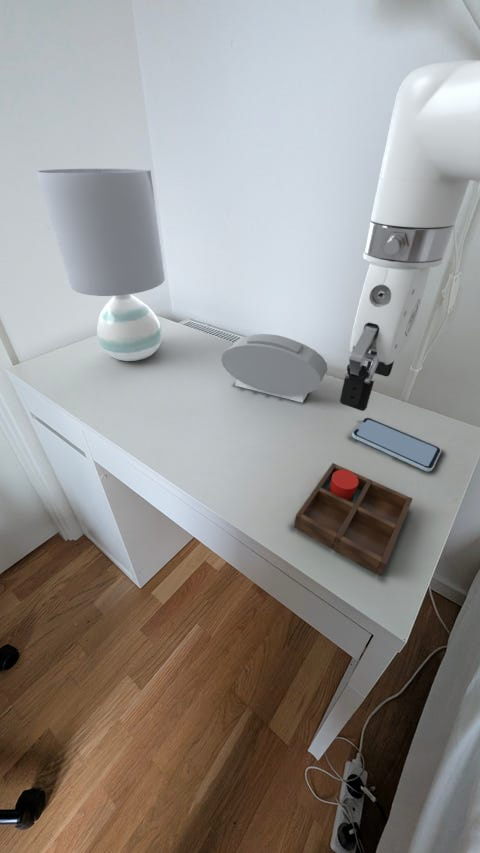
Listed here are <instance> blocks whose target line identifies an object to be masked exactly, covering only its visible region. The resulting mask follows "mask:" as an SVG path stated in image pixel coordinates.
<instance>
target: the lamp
mask: <svg viewBox="0 0 480 853" xmlns="http://www.w3.org/2000/svg"><path fill="white" fill-rule="evenodd" d="M36 176H37V179H38V182H39V186H40V189H41V193H42V195H43V198H44V202H45V205H46V209H47V212H48V216H49V218H50V222H51V226H52V229H53V232H54V235H55V238H56V241H57V245H58V248H59V252H60V254H61V258H62V262H63V264H64V268H65V272H66V275H67V279H68V281H69V284H70V287H71V289H72V290H73V291H75V292H76V293H79V294H82V295H87V296H96V297H111V299H110V300H109V301H108V302H107V303H106V304H105V306H104V307H103V309H102V310H101V312H100V314H99V317H98V319H97V324H96V325H97V326H96V335H97V339H98V343H99V345H100V346H101V348H102V350H103V351H104V352H105V353H106V354H107V355H108V356H110V357H112V358H114V359H116V360H119V361H124V362H136V361H141V360H144V359H147V358H149V357H151V356H152V355H154V353H156V352H157V351H158V349H159V348H160V346H161V344H162V338H163V332H162V326H161V323H160V321H159V319H158V317H157V316H156V314H155V312H153V310H152V309H151V308H150V307H149V305H147V304H145V302H143V301H142V300H140V299H139V298H137V297H136V296H134V294H139V293H144V292H147V291H150V290H153V289H155V288H157V287H159V286H161V285H162V284H163V283H164V282H165V280H166V276H165V269H164V268H165V267H164V261H163V252H162V245H161V238H160V231H159V230H160V229H159V224H158V216H157V208H156V201H155V193H154V185H153V179H152V178H153V177H152V171H151V169H147V168H129V167H128V168H127V167H126V168H124V167H96V168H95V167H91V168H89V167H86V168H85V167H84V168H82V167H81V168H57V169H55V168H54V169H41V170H36Z"/></svg>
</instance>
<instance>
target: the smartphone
mask: <svg viewBox="0 0 480 853" xmlns="http://www.w3.org/2000/svg"><path fill="white" fill-rule="evenodd" d="M351 437H352V438H353V439H355V440H357V441H358V442H362V443H363V444H366V445H368V446H370V447H373V448H374V449H376V450H379V451H381V452H383V453H385V454H388V455H389V456H391V457H393V458H396V459H398V460H400V461H402V462H405V463H407V464H409V465H411V466H413V467H416V468H418V469H420V470H422V471H424V472H428V473H429V472H432V471H433V469H434V468H435V465H436V463H437V461H438V459H439V457H440V455H441V453H442V449H441V447H439V446H438V445H435V444H433V443H431V442H429V441H427V440H424V439H422V438H420V437H417V436H415V435H412V434H410V433H407V432H405V431H403V430H401V429H398V428H395V427H393V426H390V425H388V424H386V423H383V422H382V421H379V420H376V419H374V418H373V417H363V419H362V420H361V421H360V422H359V424H358V425H357V426H356V427H355V428H354V430H353V431H352V433H351Z"/></svg>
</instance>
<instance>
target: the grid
mask: <svg viewBox="0 0 480 853" xmlns="http://www.w3.org/2000/svg"><path fill="white" fill-rule="evenodd" d="M338 470H347V471H350V472H352V473H354V474H355V475H356V476H357V478H358V481H359V483H358V487H357V489H356V492H355V495H354V498H353V500H352V501H351V502H349V501H347V500H345V499H343V498H341V497H339V496H337V495H335V494H333V493H331V492H329V487H330V483H331V479H332V475H333V474H334V472H336V471H338ZM412 502H413V498H412V497H410V496H408V495H406V494H403V493H401V492H399V491H397V490H395V489H393V488H390V487H388V486H386V485H383V484H381V483H379V482H377V481H374V480H372V479H371V478H368V477H366V476H363V475H361V474H359V473H356V472H354V471H352V470H350V469H347V468H345V467H344V466H342V465H338V464H337V463H334V462H332V463H331V465H330V466H329V468H328V469H327V471H326V472H325V473H324V475H323V476H322V478H321V479H320V480H319V482H318V483H317V484H316V486H315V487H314V489H313V490H312V492H311V493H310V494H309V496H308V497H307V499H306V500H305V502H304V503H303V505H302V506H301V507H300V509H299V511H298V512H297V513H296V515H295V519H294V526H293V528H294V529H296V530H298V531H300V532H301V533H303V534H305V535H306V536H308V537H310V538H312V539H314V540H315V541H316V542H319V543H321V544H322V545H324V546H326V547H327V548H329V549H331V550H333V551H334V552H337V553H338V554H340V555H341V556H344V557H345V558H347V559H349V560H350V561H352V562H354V563H355V564H357V565H359V566H361V567H363V568H364V569H366V570H368V571H370V572H371V573H373V574H375V575H376V576H378V577H381V575H382V574H383V571H384V570H385V568H386V567H387V564H388V562H389V559H390V557H391V554H392V552H393V549H394V547H395V544H396V542H397V539H398V537H399V533H400V532H401V529H402V527H403V524H404V521H405V520H406V517H407V514H408V512H409V509H410V507H411V504H412Z"/></svg>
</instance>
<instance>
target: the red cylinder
mask: <svg viewBox="0 0 480 853" xmlns="http://www.w3.org/2000/svg"><path fill="white" fill-rule="evenodd" d="M350 471H351V470H350ZM350 471H347V470H338V471H336V472H334V474H333V475H332V479H331V483H330V487H329V492H331V493H333V494H335V495H337V496H339V497H341V498H343V499H345V500H347V501H349V502H351V501H352V500H353V498H354V495H355V492H356V489H357V487H358V483H359V481H358V478H357V476H356V475H355V474H354V473H355V472H354V473H352V472H353V471H352V472H350Z"/></svg>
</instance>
